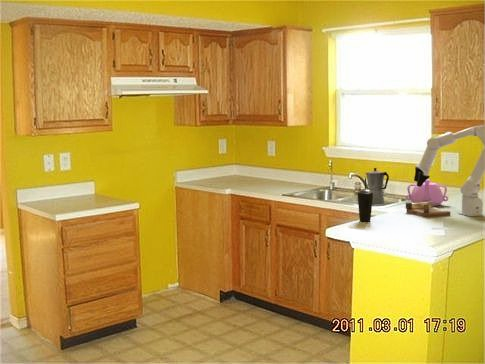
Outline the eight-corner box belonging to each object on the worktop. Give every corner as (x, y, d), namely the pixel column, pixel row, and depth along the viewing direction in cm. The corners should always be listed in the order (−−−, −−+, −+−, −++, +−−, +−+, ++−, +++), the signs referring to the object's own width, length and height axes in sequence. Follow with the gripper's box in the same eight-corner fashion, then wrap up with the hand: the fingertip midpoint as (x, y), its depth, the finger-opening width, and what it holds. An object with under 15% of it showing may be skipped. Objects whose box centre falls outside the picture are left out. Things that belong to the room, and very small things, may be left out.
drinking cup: (376, 220, 276) (377, 178, 273) (367, 223, 270) (368, 179, 268) (362, 219, 281) (362, 177, 279) (353, 221, 275) (353, 178, 273)
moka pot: (369, 201, 334) (370, 166, 332) (393, 204, 323) (394, 168, 321) (360, 203, 328) (360, 167, 325) (384, 206, 317) (384, 169, 314)
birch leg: (430, 206, 302) (430, 200, 302) (433, 207, 299) (433, 201, 299) (404, 208, 297) (404, 202, 297) (407, 209, 295) (407, 203, 294)
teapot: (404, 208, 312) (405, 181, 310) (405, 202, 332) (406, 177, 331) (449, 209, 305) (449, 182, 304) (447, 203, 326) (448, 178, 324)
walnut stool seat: (450, 215, 287) (450, 203, 286) (425, 217, 283) (425, 205, 282) (430, 210, 302) (430, 199, 301) (406, 212, 298) (406, 200, 297)
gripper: (417, 153, 308) (407, 176, 312) (422, 161, 294) (412, 186, 299) (430, 157, 308) (420, 180, 313) (436, 165, 294) (425, 190, 299)
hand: (417, 183), depth 306 cm, fingers open, 7 cm apart
